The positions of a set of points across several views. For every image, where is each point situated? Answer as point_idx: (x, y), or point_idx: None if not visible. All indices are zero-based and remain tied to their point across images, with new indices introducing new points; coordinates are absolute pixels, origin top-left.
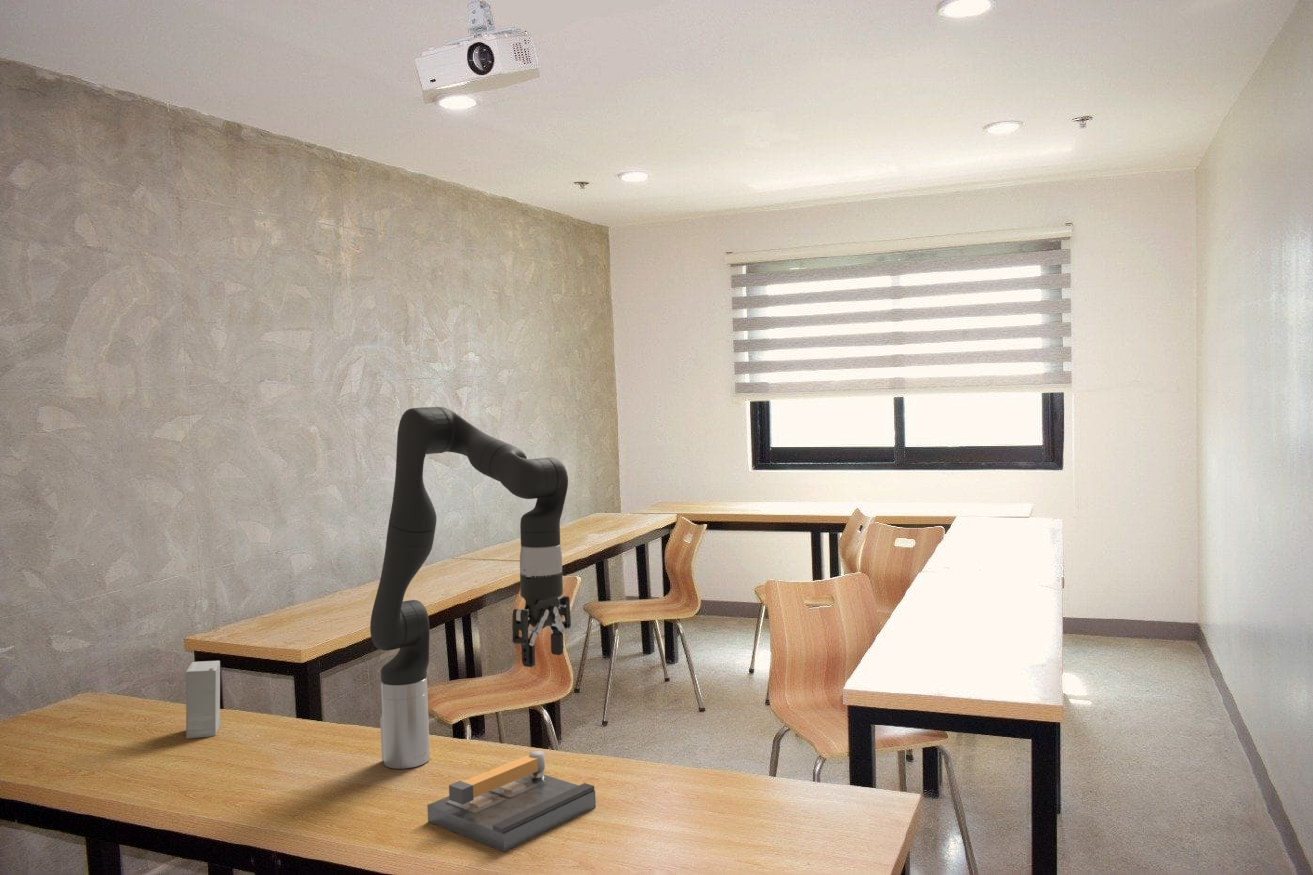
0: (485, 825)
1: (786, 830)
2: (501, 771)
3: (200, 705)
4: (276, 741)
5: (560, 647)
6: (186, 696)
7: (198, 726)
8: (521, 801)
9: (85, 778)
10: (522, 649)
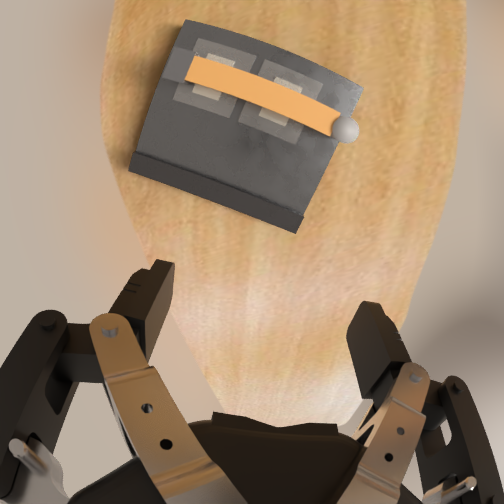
0: (144, 134)
1: (270, 386)
2: (255, 97)
3: None
4: None
5: (352, 355)
6: None
7: None
8: (231, 143)
9: None
10: (112, 311)
